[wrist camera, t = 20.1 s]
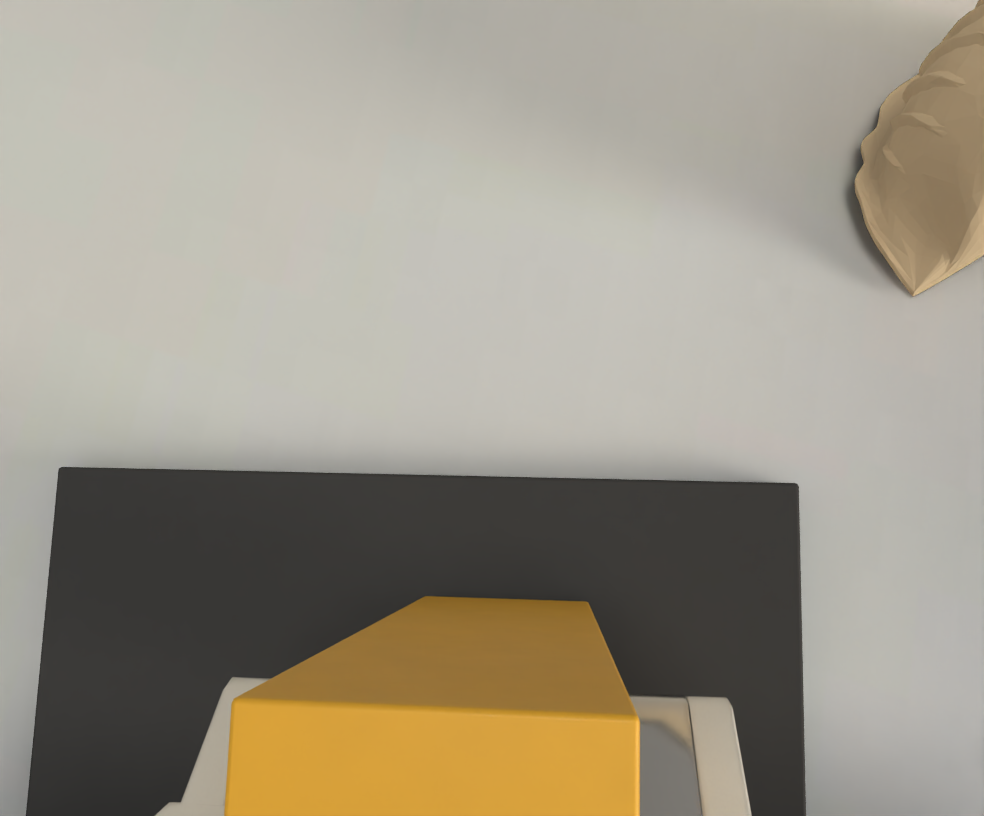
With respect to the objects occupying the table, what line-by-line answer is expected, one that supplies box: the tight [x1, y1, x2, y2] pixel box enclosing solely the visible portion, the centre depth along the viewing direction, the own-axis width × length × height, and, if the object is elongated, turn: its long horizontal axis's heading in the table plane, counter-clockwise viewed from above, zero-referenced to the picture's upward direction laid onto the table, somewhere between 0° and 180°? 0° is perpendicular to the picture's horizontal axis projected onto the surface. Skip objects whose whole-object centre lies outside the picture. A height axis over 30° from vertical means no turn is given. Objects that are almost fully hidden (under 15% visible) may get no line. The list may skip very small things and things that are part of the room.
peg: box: [224, 596, 640, 816], centre depth 11 cm, size 3×3×10 cm
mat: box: [26, 467, 806, 816], centre depth 18 cm, size 16×12×1 cm
